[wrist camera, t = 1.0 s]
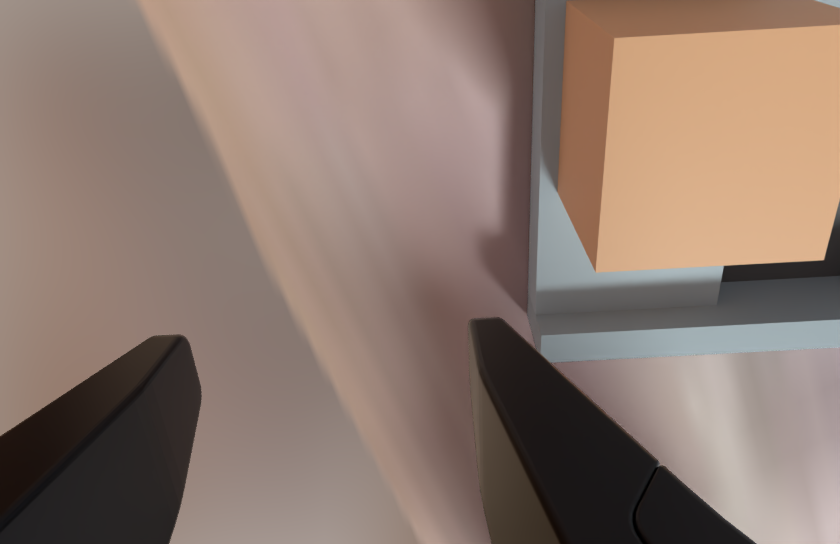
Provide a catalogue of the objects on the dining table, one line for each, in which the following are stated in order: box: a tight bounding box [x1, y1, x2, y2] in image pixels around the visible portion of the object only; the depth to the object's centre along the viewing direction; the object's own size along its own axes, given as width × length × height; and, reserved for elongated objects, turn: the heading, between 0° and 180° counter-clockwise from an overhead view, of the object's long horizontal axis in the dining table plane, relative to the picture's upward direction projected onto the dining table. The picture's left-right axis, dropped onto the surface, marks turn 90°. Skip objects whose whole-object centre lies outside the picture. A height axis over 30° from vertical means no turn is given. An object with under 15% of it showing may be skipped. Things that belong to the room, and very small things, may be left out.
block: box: [557, 0, 840, 273], centre depth 16 cm, size 5×5×4 cm
